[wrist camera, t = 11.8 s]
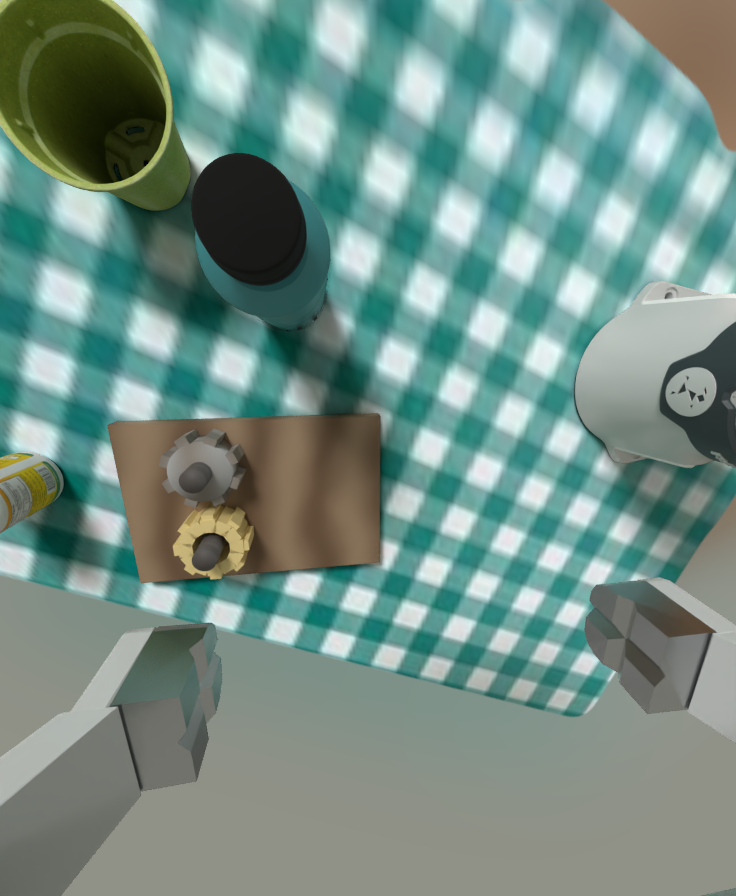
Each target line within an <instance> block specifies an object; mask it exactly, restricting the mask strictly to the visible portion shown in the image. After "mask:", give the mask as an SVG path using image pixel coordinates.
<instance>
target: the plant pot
mask: <svg viewBox="0 0 736 896" xmlns="http://www.w3.org/2000/svg"><path fill="white" fill-rule="evenodd" d="M0 126H1V127H2V129H3V130H4V132H5V133H6V135H7V136H8V137H9V139H10V140H11V141H12V142H13V144H14V145H15V146H16V147H17V148H18V149H19V150H20V151H21V152H22V153H23V154H24V155H25V156H26V157H27V158H28V159H29V160H30V161H31V162H32V163H34V164H35V165H36V166H37V167H39V168H40V169H41V170H43V171H44V172H46V173H47V174H49V175H51V176H52V177H54V178H56V179H58V180H60V181H61V182H64V183H66V184H68V185H71V186H73V187H76V188H79V189H83V190H88V191H94V192H109V193H111V194H113V195H115V196H117V197H120V198H122V199H124V200H126V201H128V202H130V203H132V204H134V205H136V206H138V207H141V208H144V209H147V210H154V211H159V210H166V209H169V208H171V207H173V206H175V205H176V204H178V203H179V202H180V201H181V200H182V198H183V196H184V194H185V192H186V189H187V187H188V184H189V182H190V164H189V160H188V156H187V154H186V151H185V149H184V146H183V143H182V141H181V138H180V136H179V133H178V131H177V128H176V126H175V123H174V108H173V98H172V93H171V88H170V84H169V81H168V78H167V74H166V72H165V69H164V67H163V64H162V62H161V60H160V58H159V55H158V54H157V52H156V50H155V48H154V46H153V44H152V43H151V41H150V40H149V38H148V37H147V35H146V34H145V32H144V31H143V30H142V28H141V27H140V26H139V24H138V23H137V22H136V21H135V20H134V19H133V18H132V17H131V16H130V15H129V14H128V13H127V12H126V11H125V10H124V9H123V8H121V7H120V6H119V5H118V4H117V3H115V2H114V1H113V0H1V1H0ZM136 126H139V127H143V128H144V129H145V130H144V132H137V133H133V134H131V135H127V134H126V132H127V130H128V129H129V128H131V127H136ZM145 160H147V161H149V163H148V164H147V165H146V166H144V161H145ZM114 164H117V165H118V168H119V172H120V175H121V177H122V179H123V181H119V180H118V178H117V176H116V174H115V172H114Z"/></svg>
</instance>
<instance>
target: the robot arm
mask: <svg viewBox="0 0 736 896" xmlns="http://www.w3.org/2000/svg"><path fill="white" fill-rule="evenodd" d="M665 295H666V298H665ZM575 400H576V405H577V409H578V412H579V415H580V417H581V419H582V421H583V423H584V424H585V426H586V427H587V428H588V429H589V430H590V431H591V432H592V433H593V434H594V435H596V436H597V437H598V438H600V439H601V440H602V441H603V442H604V443H605V445H606V448H607V450H608V452H609V454H610V456H611V458H612V459H613V460H614V461H616V462H620V463H631V462H635V461H639V460H642V459H646V458H651V459H654V460H658V461H662V462H665V463H669V464H673V465H676V466H680V467H685V468H693V467H694V466H695V465H701V464H706V463H709V462H711V461H714V460H715V461H718V462H722V463H724V464H726V465H728V466H731V467H735V468H736V293H734V294H717V295H711V294H708V293H704V292H701V291H697V290H694V289H690V288H686V287H683V286H679V285H676V284H672V283H669V282H664V281H660V282H651V283H649V284H648V285H647V286H645V287H644V288H643V290H642V291H641V292H640V293H639V295H638V296H637V297H636V299H635V300H634V301H633V303H632V304H631V306H630V307H629V308H627V309H626V310H625V311H624V312H622V313H621V314H619V315H618V316H616V317H615V318H614V319H612V320H611V321H610V322H608V323H607V324H606V325H605V326H604V327H603V328H602V329H601V330H600V331H599V332H598V333H597V334H596V336H595V337H594V338H593V340H592V341H591V342H590V344H589V346H588V347H587V349H586V351H585V353H584V355H583V357H582V359H581V362H580V365H579V368H578V372H577V376H576V382H575ZM590 602H591V604H592V605H593V607H594V609H593V610H592V611H591V612H590V613H589V614H588V616H587V617H586V622H585V629H584V630H585V634H586V638H587V642H588V644H589V646H590V648H591V649H592V651H593V653H594V654H595V656H596V657H597V658H598V659H599V660H600V661H601V663H602V664H604V665H606V666H607V667H609V668H611V669H613V670H614V671H616V672H618V678H619V683H620V684H621V685H622V686H623V687H624V688H625V690H626V691H627V692H628V693H629V694H630V695H631V696H632V697H633V699H634V700H635V701H636V702H637V703H638V704H639V705H640V706H641V708H642V709H643V710H644V711H645V712H646V713H647V714H651V713H659V712H669V711H677V710H686V709H688V713H690V714H692V715H693V716H695V717H696V718H698V719H699V720H701V721H702V722H704V723H705V724H707V725H708V726H710V727H711V728H713V729H714V730H716V731H718V732H719V733H720V734H722V735H724V736H725V737H727V738H728V739H730V740H731V741H733V742H734V743H736V625H735V624H733V623H732V622H730V621H729V620H727V619H726V618H724V617H723V616H721V615H720V614H718V613H717V612H715V611H714V610H712V609H711V608H709V607H708V606H706V605H705V604H703V603H702V602H700V601H699V600H697V599H696V598H694V597H693V596H692V595H690V594H689V593H687V592H686V591H684V590H683V589H681V588H680V587H678V586H676V585H675V584H674V583H672V582H671V581H669V580H666V579H663V578H660V577H658V578H650V579H642V580H637V581H628V582H619V583H609V584H600V585H596V586H595V587H594V588H593V590H592V591H591V596H590ZM217 640H218V638H217V633H216V628H215V625H214V624H213V623H201V624H188V625H175V626H161V627H158V628H156V627H155V628H141V629H131V630H129V631H128V632H126V633H125V634H123V635H122V637H121V638H120V640H119V641H118V642H117V644H116V645H115V647H114V648H113V650H112V651H111V653H110V654H109V656H108V657H107V659H106V660H105V662H104V663H103V665H102V666H101V668H100V669H99V671H98V672H97V673H96V675H95V677H94V678H93V680H92V681H91V682H90V684H89V685H88V687H87V688H86V690H85V691H84V693H83V694H82V695H81V697H80V698H79V700H78V701H77V703H76V704H75V706H74V707H73V709H72V710H71V712H67V713H60V714H59V715H57V716H56V717H55V718H53V719H52V720H50V721H49V722H48V723H47V724H45V725H44V726H42V727H41V728H40V729H38V730H37V731H36V732H34V733H33V734H32V735H30V736H29V737H27V738H26V739H25V740H23V741H22V742H21V743H19V744H18V745H17V746H15V747H14V748H13V749H11V750H10V751H8V752H7V753H6V754H5V755H3V756H2V757H0V896H61V895H62V894H63V893H64V891H65V890H66V889H67V888H68V886H69V885H70V884H71V883H72V881H73V880H74V879H75V878H76V876H77V875H78V874H79V873H80V871H81V870H82V869H83V868H84V866H85V865H86V864H87V863H88V861H89V860H90V859H91V857H92V856H93V855H94V854H95V853H96V851H97V850H98V849H99V848H100V846H101V845H102V843H103V842H104V841H105V840H106V839H107V837H108V836H109V835H110V834H111V832H112V831H113V830H114V829H115V827H116V826H117V825H118V824H119V822H120V821H121V820H122V819H123V817H124V816H125V815H126V814H127V812H128V811H129V810H130V809H131V807H132V806H133V805H134V804H135V802H136V801H137V800H138V799H139V797H140V796H141V791H146V790H152V789H157V788H163V787H168V786H174V785H179V784H185V783H190V782H196V781H197V778H198V775H199V771H200V767H201V764H202V761H203V757H204V754H205V750H206V746H207V743H208V739H209V738H208V732H207V726H206V724H207V722H208V721H209V720H210V719H211V718H212V717H213V716H214V715H215V714H216V711H217V707H218V702H219V699H220V693H221V685H222V664H221V658H220V657H219V656H218V655H217V654H216V653H215V652H214V649H215V646H216V643H217ZM702 896H736V888H734V889H729V890H725V891H721V892H716V893H711V894H707V895H702Z"/></svg>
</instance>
